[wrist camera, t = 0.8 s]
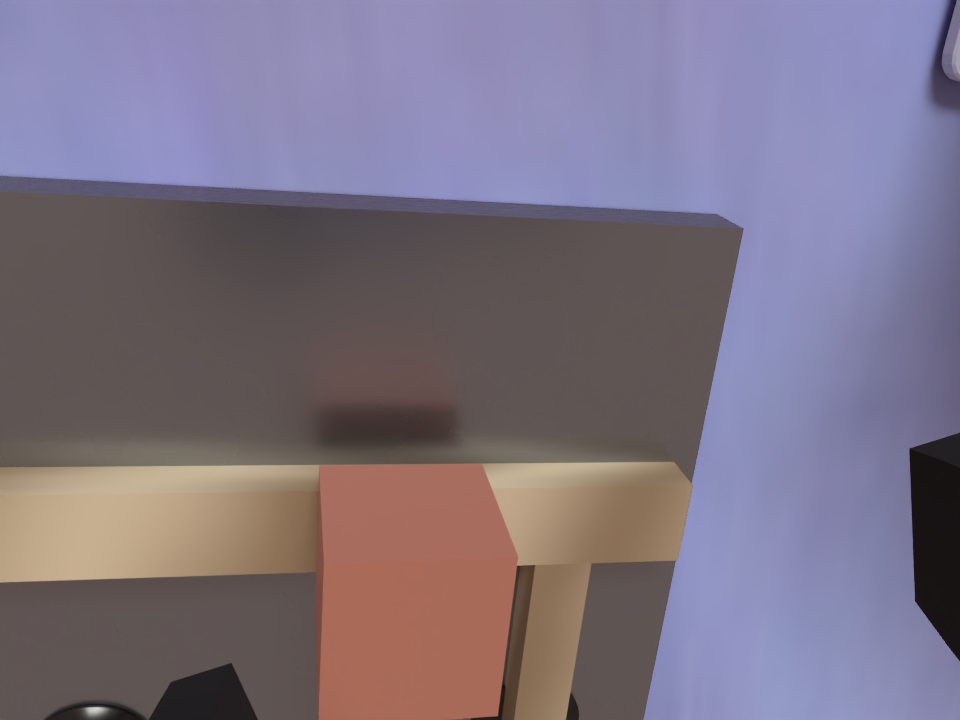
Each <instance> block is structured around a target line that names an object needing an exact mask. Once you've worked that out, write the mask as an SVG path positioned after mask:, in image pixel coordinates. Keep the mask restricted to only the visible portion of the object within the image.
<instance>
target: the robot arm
mask: <svg viewBox="0 0 960 720" xmlns="http://www.w3.org/2000/svg"><path fill="white" fill-rule="evenodd" d="M942 67H943V70H944V73H945V74H946V75H947V76H948V77H949V79H952V80H955V81H958V82H960V0H957V1H956V5H955V9H954V13H953V16H952V20H951V24H950V27H949V31H948V35H947V39H946V42H945V46H944V50H943V54H942ZM910 476H911V502H912V528H913V555H914V581H915V602H916V603H917V604H918V606H919V607H920V608H921V610H922V611H923V613H924V614H925V615H926V617H927V618H928V619H929V621H930V622H931V623H932V625H933V626H934V628H935V629H936V630H937V632H938V633H939V634H940V636H941V637H942V639H943V640H944V641H945V643H946V644H947V645H948V647H949V648H950V649H951V651H952V652H953V653H954V654H955V656H956V657H957V658H958V659H959V661H960V433H958V434H955V435H951V436H948V437H945V438H942V439H939V440H936V441H932V442H929V443H926V444H923V445H920V446H917V447H913V448H910ZM149 720H258V719H257V716H256V714H255V712H254V710H253V708H252V706H251V703H250V701H249V699H248V697H247V695H246V693H245V691H244V688H243V686H242V684H241V682H240V680H239V678H238V676H237V673H236V671H235V669H234V667H233V665H232V663H229V664H226V665H223V666H220V667H217V668H213V669H210V670H207V671H204V672H201V673H198V674H194V675H191V676H188V677H185V678H182V679H179V680H175V681H172V682H171V683H170V684H169V686H168V688H167V689H166V691H165V693H164V694H163V696H162V698H161V699H160V701H159V703H158V704H157V706H156V708H155V710H154V711H153V713H152V715H151V716H150V718H149Z"/></svg>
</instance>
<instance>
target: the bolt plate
mask: <svg viewBox="0 0 960 720" xmlns="http://www.w3.org/2000/svg"><path fill="white" fill-rule="evenodd" d="M742 234H743V228H741V227H739V226H738V225H736V224H734V223H732V222H730V221H728V220H727V219H725V218H723V217H721V216H719V215H717V214H701V213H683V212H664V211H645V210H626V209H608V208H589V207H570V206H552V205H533V204H514V203H495V202H477V201H458V200H439V199H421V198H402V197H383V196H364V195H346V194H327V193H308V192H289V191H271V190H252V189H233V188H215V187H196V186H177V185H158V184H140V183H121V182H102V181H84V180H65V179H46V178H27V177H9V176H0V467H117V466H240V465H362V464H485V463H608V462H675V464H676V465H677V466H678V467H679V469H680V470H681V471H682V473H683V474H684V475H685V476H686V478H687V479H688V480H689V481H690V483H692V478H693V474H694V469H695V464H696V459H697V454H698V449H699V444H700V439H701V434H702V430H703V425H704V420H705V415H706V410H707V405H708V400H709V395H710V390H711V385H712V381H713V376H714V371H715V366H716V361H717V356H718V351H719V346H720V341H721V337H722V332H723V327H724V322H725V317H726V312H727V307H728V302H729V297H730V292H731V288H732V283H733V278H734V273H735V268H736V263H737V258H738V253H739V248H740V244H741V239H742ZM675 562H676V561H646V562H615V563H591V569H590V576H589V582H588V588H587V594H586V600H585V606H584V612H583V618H582V624H581V630H580V637H579V643H578V649H577V655H576V661H575V667H574V673H573V679H572V685H571V692H570V698H569V704H568V710H567V716H566V720H643V718H644V713H645V709H646V704H647V699H648V694H649V689H650V684H651V679H652V674H653V669H654V664H655V660H656V655H657V650H658V645H659V640H660V635H661V630H662V625H663V620H664V616H665V611H666V606H667V601H668V596H669V591H670V586H671V581H672V576H673V571H674V567H675ZM519 572H520V566H517V570H516V578H515V586H514V594H513V601H512V609H511V617H510V625H509V633H508V640H507V648H506V656H505V664H504V672H503V680H502V687H501V695H500V703H499V711H498V716H493V717H478V718H464V719H449V720H502V713H503V706H504V698H505V690H506V687H505V680H506V672H507V665H508V657H509V649H510V641H511V634H512V626H513V618H514V611H515V603H516V595H517V587H518V580H519ZM315 584H316V572H307V573H276V574H245V575H214V576H184V577H153V578H122V579H91V580H60V581H29V582H0V720H149V718H150V716H151V715H152V713H153V711H154V710H155V708H156V706H157V704H158V703H159V701H160V699H161V698H162V696H163V694H164V693H165V691H166V689H167V688H168V686H169V684H170V683H171V682H172V681H175V680H179V679H182V678H185V677H188V676H191V675H194V674H198V673H201V672H204V671H207V670H210V669H213V668H217V667H220V666H223V665H226V664H229V663H232V665H233V667H234V669H235V671H236V673H237V676H238V678H239V680H240V682H241V684H242V686H243V688H244V691H245V693H246V695H247V697H248V699H249V701H250V703H251V706H252V708H253V710H254V712H255V714H256V716H257V719H258V720H318V705H317V672H316V640H315Z"/></svg>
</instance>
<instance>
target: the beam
mask: <svg viewBox="0 0 960 720" xmlns="http://www.w3.org/2000/svg"><path fill="white" fill-rule="evenodd" d="M362 465H437V464H362ZM482 465H483V467H484V470H485V473H486V475H487V478H488V480H489V483H490V485H491V488H492V491H493V493H494V496H495V498H496V501H497V503H498V506H499V509H500V511H501V514H502V516H503V519H504V521H505V524H506V527H507V529H508V532H509V534H510V537H511V539H512V542H513V545H514V547H515V550H516V552H517V555H518V562H517V566H520V572H519V580H518V587H517V595H516V603H515V611H514V618H513V626H512V634H511V641H510V649H509V657H508V665H507V672H506V680H505V687H506V690H505V698H504V706H503V713H502V720H566V716H567V710H568V704H569V698H570V692H571V685H572V679H573V673H574V667H575V661H576V655H577V649H578V643H579V637H580V630H581V624H582V618H583V612H584V606H585V600H586V594H587V588H588V582H589V576H590V569H591V563H615V562H646V561H677V560H678V556H679V551H680V546H681V541H682V536H683V531H684V527H685V522H686V517H687V512H688V507H689V502H690V497H691V492H692V488H693V485H692V484H691V483H690V481H689V480H688V479H687V478H686V476H685V475H684V474H683V473H682V471H681V470H680V469H679V467H678V466H677V465H676V464H675V462H608V463H485V464H482ZM318 487H319V465H240V466H117V467H0V582H29V581H60V580H91V579H122V578H153V577H184V576H214V575H245V574H276V573H307V572H316V552H317V519H318Z"/></svg>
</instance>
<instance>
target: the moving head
mask: <svg viewBox="0 0 960 720" xmlns="http://www.w3.org/2000/svg"><path fill="white" fill-rule="evenodd" d="M517 562H518V555H517V552H516V550H515V547H514V545H513V542H512V539H511V537H510V534H509V532H508V529H507V527H506V524H505V521H504V519H503V516H502V514H501V511H500V509H499V506H498V503H497V501H496V498H495V496H494V493H493V491H492V488H491V485H490V483H489V480H488V478H487V475H486V473H485V470H484V467H483V465H482V464H437V465H319V487H318V519H317V552H316V584H315V640H316V672H317V705H318V720H449V719H464V718H478V717H493V716H498V711H499V703H500V695H501V687H502V680H503V672H504V664H505V656H506V648H507V640H508V633H509V625H510V617H511V609H512V601H513V594H514V586H515V578H516V570H517Z"/></svg>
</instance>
